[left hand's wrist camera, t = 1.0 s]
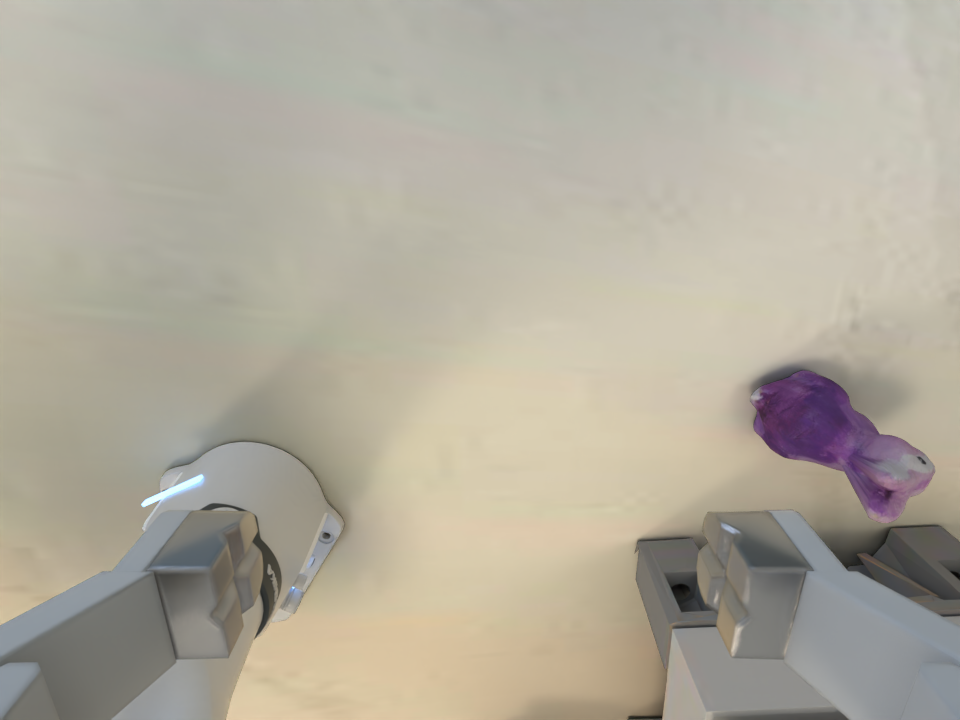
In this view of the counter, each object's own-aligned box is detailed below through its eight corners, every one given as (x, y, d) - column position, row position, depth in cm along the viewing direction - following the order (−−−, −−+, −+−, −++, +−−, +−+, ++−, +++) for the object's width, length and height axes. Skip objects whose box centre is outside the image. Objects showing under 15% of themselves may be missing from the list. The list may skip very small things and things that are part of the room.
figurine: (862, 426, 58) (986, 517, 44) (762, 463, 60) (851, 563, 46) (843, 344, 55) (970, 415, 41) (738, 385, 56) (825, 467, 42)
